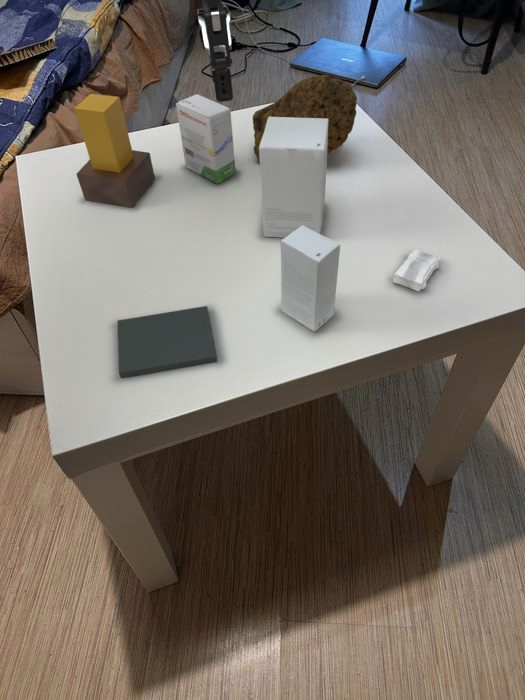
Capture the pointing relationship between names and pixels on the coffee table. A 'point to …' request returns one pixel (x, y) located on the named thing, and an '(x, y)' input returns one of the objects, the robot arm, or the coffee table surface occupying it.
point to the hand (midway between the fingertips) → (222, 91)
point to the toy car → (416, 270)
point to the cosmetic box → (309, 277)
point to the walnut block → (118, 181)
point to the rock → (313, 108)
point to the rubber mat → (165, 341)
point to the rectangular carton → (293, 174)
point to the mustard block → (104, 132)
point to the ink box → (207, 137)
